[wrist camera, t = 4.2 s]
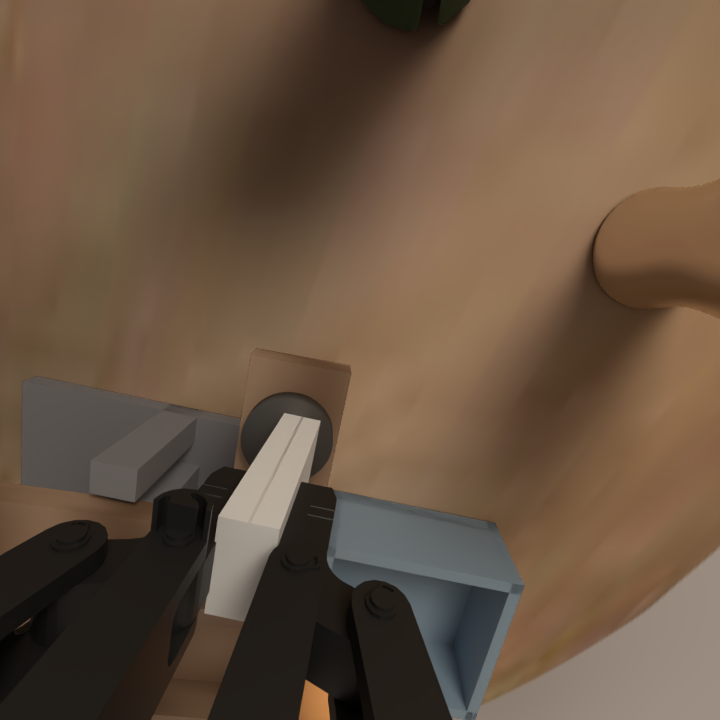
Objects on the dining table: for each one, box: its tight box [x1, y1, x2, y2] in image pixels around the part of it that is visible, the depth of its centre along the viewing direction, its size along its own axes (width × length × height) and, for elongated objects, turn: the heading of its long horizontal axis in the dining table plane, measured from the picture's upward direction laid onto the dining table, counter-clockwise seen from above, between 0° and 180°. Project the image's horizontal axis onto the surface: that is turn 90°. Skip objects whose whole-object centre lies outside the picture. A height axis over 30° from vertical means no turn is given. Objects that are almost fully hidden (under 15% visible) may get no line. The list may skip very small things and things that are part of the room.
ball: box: [299, 680, 330, 720], centre depth 18 cm, size 4×4×4 cm
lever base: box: [21, 376, 241, 502], centre depth 22 cm, size 18×16×7 cm
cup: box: [327, 490, 524, 720], centre depth 24 cm, size 10×9×5 cm
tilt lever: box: [0, 348, 351, 720], centre depth 18 cm, size 18×20×6 cm
